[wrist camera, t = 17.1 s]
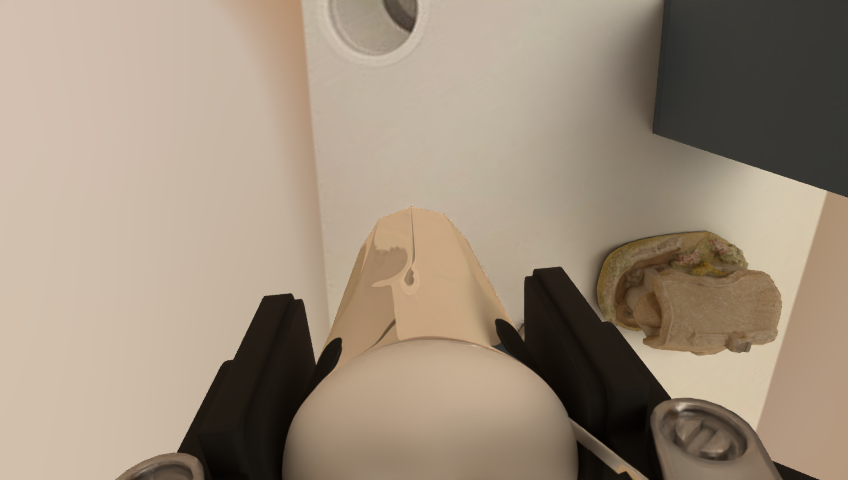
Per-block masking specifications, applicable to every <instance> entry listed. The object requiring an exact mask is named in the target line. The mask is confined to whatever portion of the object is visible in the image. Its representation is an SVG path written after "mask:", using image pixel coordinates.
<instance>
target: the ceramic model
mask: <svg viewBox="0 0 848 480" xmlns="http://www.w3.org/2000/svg"><path fill="white" fill-rule="evenodd" d="M747 267H748V263H747V262H746V261H745V258H744V256H743V252H742V250H740V249H738V248H737V247H736V246H735V245H733V244H730V243H728V242H727V241H725V240H724V239H722V238H720V237H719V236H717V235H716V234H714V233H711V232H707V231H700V232H689V233H679V234H670V235H663V236H657V237H652V238H647V239H643V240H639V241H635V242H631V243H628V244H626V245H624V246H622V247H620V248H618V249H616V250H615V251H613V252H612V253H611V254H610V255H609V256H608V257H607V258H606V260H605V261H604V264H603V267H602V269H601V273H600V277H599V280H598V285H597V296H598V297H597V298H598V303H599V307H600V309H601V311H602V313H603V315H604V316H605V320H607V321H609V322H611V323H613V324H614V323H615V324H616V325H618V326H621V327H623V328H625V329H629V330H635V331H639V330H643V331H644V333H645V334H646V336H647V337H646V338H644V339H643V343H644V344H645V345H648V346H650V347H651V348H654V349H661V350H672V351H683V352H686V351H690V352H691V353H693V354H696V355H698V356H701V355H710V354H716V353H719V352H721V351H723V350H725V349H729V350H730V351H731V352H737V353H741V352H749V351H750V348H751V345H763V344H766V343H769V342H772V341H774V340H775V338H776V336H777V333H778V330H777V326H778V322H779V319H780V315H781V308H782V301H781V295H780V292H779V290H778V288H777V287H776V286H775V284H774V281H773V280H772V279H771V277H770V276H769V275H768V274H766V273H765V272H762V271H755V270H747Z"/></svg>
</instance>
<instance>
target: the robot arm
mask: <svg viewBox="0 0 848 480" xmlns="http://www.w3.org/2000/svg"><path fill="white" fill-rule="evenodd" d="M524 342H525V344H526V345H527V347H528V349H529V350H530V352H531V353H532V355H533V357H534V358H535V360H536V362H537V363H538V365H539V367H540V368H541V370H542V371H543V373H544V375H545V376H546V378H547V380H548V381H549V383H550V384H551V386H552V388H553V389H554V391H555V393H556V394H557V396H558V398H559V399H560V401H561V402H562V404H563V406H564V408H565V409H566V411H567V413H568V416H569V417H570V418H572V419H573V420H574V421H576V422H577V423H578V424H579V425H581V426H582V427H583V428H585V429H586V430H587V431H588V432H590V433H591V434H592V435H594V436H595V437H596V438H597V439H599V440H600V441H601V442H603V443H604V444H605V445H606V446H608V447H609V448H610V449H611V450H613V451H614V452H615V453H617V454H618V455H619V456H620V457H622V458H623V459H624V460H626V461H627V462H628V463H629V464H631V465H632V466H633V467H635V468H636V469H637V470H638V471H640V472H641V473H642V474H644V475H645V476H646V477H647V478H649V479H650V480H819V479H816V478H814V477H811V476H809V475H806V474H804V473H801V472H798V471H796V470H794V469H791V468H789V467H786V466H784V465H781V464H779V463H776V462H774V461H772V460H771V458H770V457H769V455H768V453H767V451H766V449H765V448H764V446H763V444H762V442H761V440H760V439H759V437H758V435H757V434H756V432H755V431H754V430H753V429H752V427H751V426H750V425H749V424H748V423H747V422H746V421H745V420H743V419H742V418H741V417H740V416H738V415H737V414H736V413H734V412H732V411H730V410H728V409H726V408H724V407H723V406H721V405H718V404H715V403H712V402H708V401H705V400H700V399H693V398H674V399H671V397H670V396H669V395H668V393H667V392H666V391H665V390H664V388H663V387H662V386H661V384H660V383H659V382H658V381H657V379H656V378H655V377H654V375H653V374H652V373H651V372H650V370H649V369H648V368H647V366H646V365H645V364H644V363H643V361H642V360H641V359H640V357H639V356H638V355H637V354H636V352H635V351H634V350H633V348H632V347H631V346H630V345H629V343H628V342H627V341H626V339H625V338H624V337H623V336H622V334H621V333H620V332H619V330H618V329H617V328H616V327H615V326H614V325H613V324H612V323H611V322H608V321H606V322H602V321H601V320H600V318H599V317H598V316H597V314H596V313H595V311H594V310H593V309H592V307H591V306H590V305H589V303H588V302H587V301H586V299H585V298H584V297H583V295H582V294H581V293H580V291H579V290H578V289H577V287H576V286H575V285H574V283H573V282H572V281H571V279H570V278H569V277H568V275H567V274H566V273H565V271H564V270H563V269H562V268H561V267H552V268H542V269H534V271H533V275H532V276H527V277H525V281H524ZM315 367H316V363H315V358H314V353H313V347H312V342H311V337H310V332H309V327H308V322H307V317H306V312H305V307H304V303H303V300H302V299H297V300H295V299H294V297H293V295H292V294H291V293H290V294H280V295H270V296H264V298H263V299H262V301H261V303H260V305H259V308H258V309H257V311H256V314H255V316H254V318H253V320H252V322H251V324H250V326H249V328H248V330H247V332H246V334H245V336H244V338H243V341H242V343H241V345H240V347H239V349H238V351H237V353H236V355H235V357H234V359H233V360H227V361H225V362H224V363H223V364H222V366H221V367H220V369H219V371H218V373H217V375H216V377H215V379H214V381H213V383H212V385H211V386H210V389H209V390H208V393H207V394H206V397H205V398H204V400H203V402H202V404H201V406H200V408H199V410H198V412H197V414H196V416H195V418H194V420H193V422H192V424H191V426H190V428H189V430H188V432H187V434H186V436H185V438H184V439H183V442H182V443H181V445H180V448H179V449H178V451H177V453H169V454H163V455H158V456H156V457H153V458H150V459H148V460H145V461H143V462H141V463H139V464H137V465H135V466H134V467H132V468H130V469H128V470H127V471H126V472H125V473H123V474H122V475H121V476H119V477H118V478H117V479H116V480H282V462H283V454H284V448H285V443H286V438H287V434H288V431H289V428H290V425H291V423H292V420H293V418H294V417H295V414H296V412H297V409H298V407H299V405H300V402H301V400H302V397H303V395H304V393H305V390H306V388H307V386H308V383H309V381H310V378H311V376H312V374H313V371H314V369H315ZM576 441H577V440H576ZM577 448H578V463H579V466H578V478H577V480H632V479H631V478H630V476H629V474H628V473H627V471H624V472H622V473H620V474H617V473H616V472H614V471H613V470H612V469H611V468H610V467H608V466H607V465H606V464H605V463H603V462H602V461H601V460H600V459H599V458H597V457H596V456H595V455H594V454H593V453H592V452H591V451H590V450H588V449H587V448H585V447H584V446H583V445H582V444H580V443H579V442H578V441H577Z"/></svg>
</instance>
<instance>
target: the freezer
mask: <svg viewBox="0 0 848 480" xmlns="http://www.w3.org/2000/svg"><path fill="white" fill-rule="evenodd" d="M653 134H656V135H659V136H662V137H666V138H669V139H672V140H675V141H678V142H681V143H684V144H687V145H690V146H693V147H696V148H699V149H702V150H705V151H708V152H711V153H714V154H717V155H720V156H723V157H726V158H729V159H732V160H735V161H738V162H741V163H745V164H748V165H751V166H754V167H757V168H760V169H763V170H766V171H769V172H772V173H775V174H778V175H781V176H784V177H787V178H790V179H793V180H796V181H799V182H802V183H805V184H808V185H811V186H814V187H817V188H820V189H824V190H827V191H830V192H833V193H836V194H839V195H842V196H845V197H848V0H665V6H664V16H663V27H662V38H661V49H660V60H659V70H658V81H657V92H656V103H655V113H654V124H653Z"/></svg>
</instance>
